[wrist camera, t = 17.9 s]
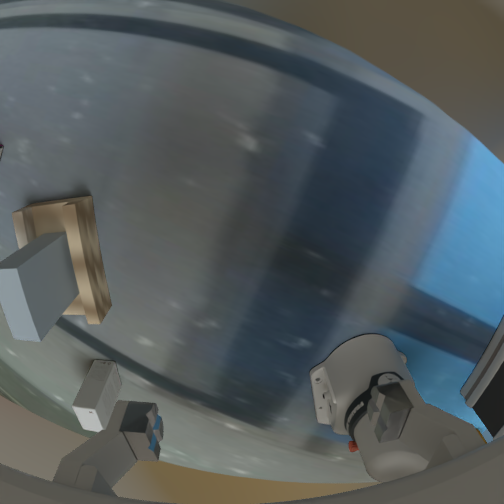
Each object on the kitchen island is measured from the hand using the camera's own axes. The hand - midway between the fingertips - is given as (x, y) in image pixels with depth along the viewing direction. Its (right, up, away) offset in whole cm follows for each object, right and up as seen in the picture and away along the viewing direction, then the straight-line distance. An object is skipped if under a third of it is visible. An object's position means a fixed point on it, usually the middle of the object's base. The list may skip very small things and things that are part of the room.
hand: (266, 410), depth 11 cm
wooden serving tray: (-28, +5, +32) cm, 43 cm away
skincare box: (-26, -16, +40) cm, 50 cm away
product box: (-27, +4, +29) cm, 40 cm away
